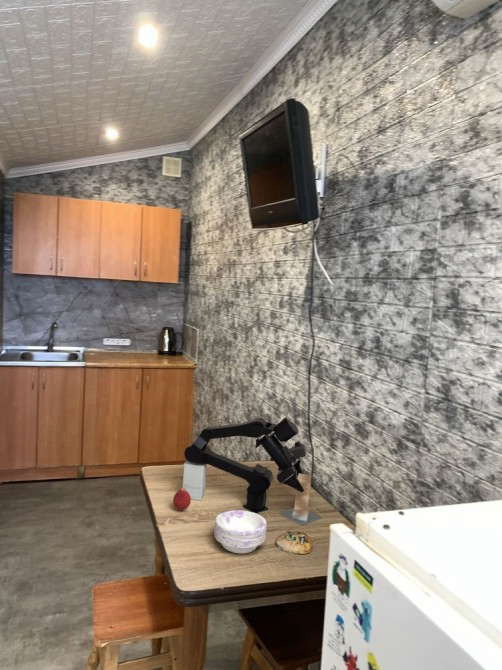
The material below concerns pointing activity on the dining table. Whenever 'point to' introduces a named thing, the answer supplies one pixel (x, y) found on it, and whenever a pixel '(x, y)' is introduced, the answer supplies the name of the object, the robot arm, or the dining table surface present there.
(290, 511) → the steel plate
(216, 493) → the dining table surface
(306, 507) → the block
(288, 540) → the bread roll
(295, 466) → the robot arm
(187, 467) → the supplement box
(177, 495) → the red pointed oval piece
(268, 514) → the dining table surface
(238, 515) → the paper bowls
